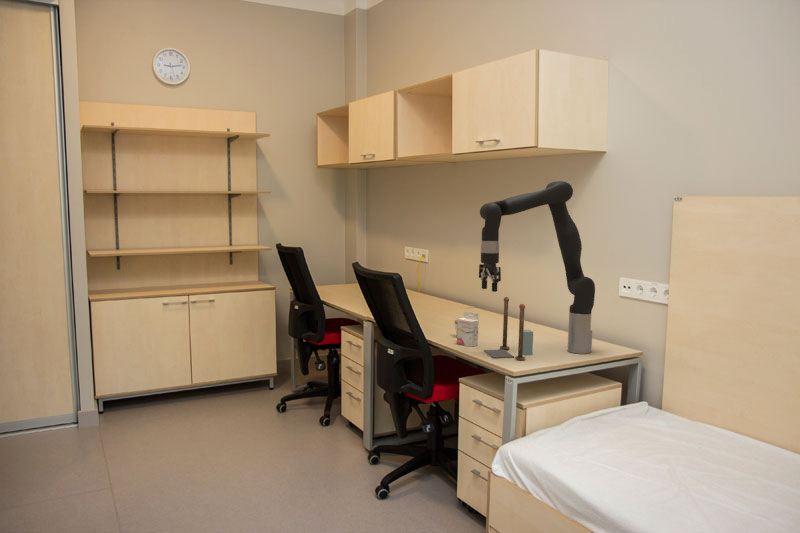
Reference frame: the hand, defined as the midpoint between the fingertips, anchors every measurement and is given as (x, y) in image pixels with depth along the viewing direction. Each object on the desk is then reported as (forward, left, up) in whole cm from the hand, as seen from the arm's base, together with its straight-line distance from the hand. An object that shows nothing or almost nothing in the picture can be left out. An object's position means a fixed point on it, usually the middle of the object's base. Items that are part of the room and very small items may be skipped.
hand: (489, 290), depth 251 cm
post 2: (-11, +9, -28) cm, 31 cm away
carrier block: (-17, 0, -28) cm, 32 cm away
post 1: (-11, -9, -28) cm, 31 cm away
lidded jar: (-1, -35, -28) cm, 44 cm away
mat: (-5, 0, -28) cm, 28 cm away
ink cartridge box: (+3, -19, -28) cm, 34 cm away
